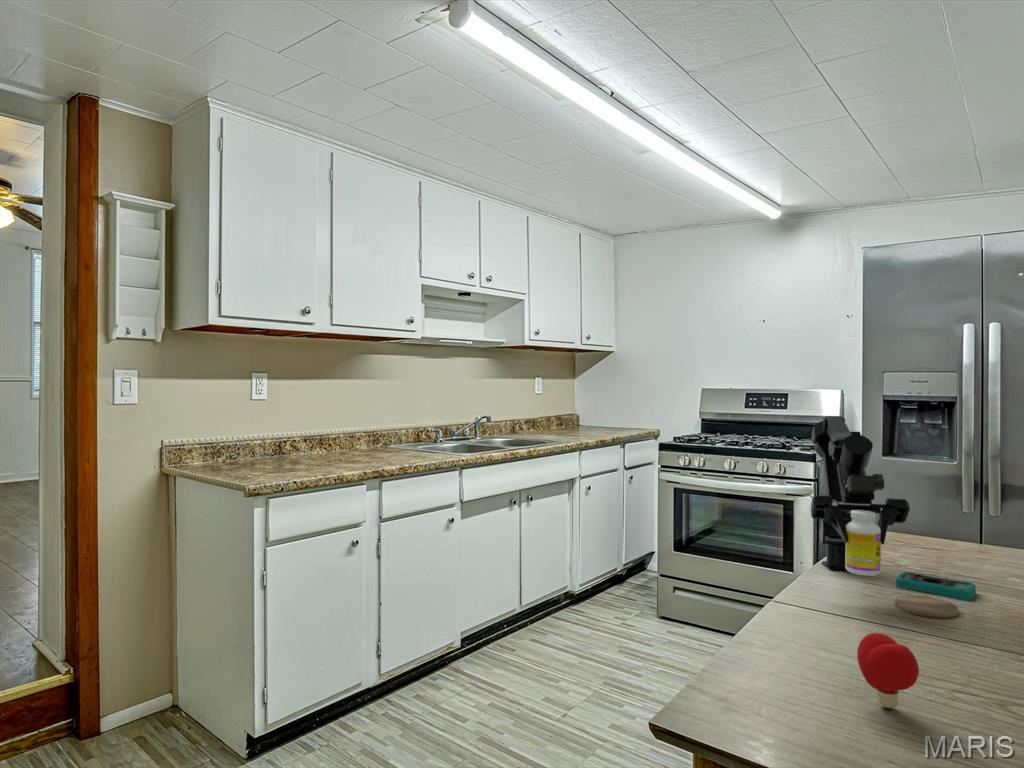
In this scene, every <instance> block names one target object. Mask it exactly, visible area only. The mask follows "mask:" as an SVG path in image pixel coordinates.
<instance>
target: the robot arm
mask: <svg viewBox="0 0 1024 768" xmlns="http://www.w3.org/2000/svg"><path fill="white" fill-rule="evenodd" d="M812 427H813V428H812V431H811V444H814V449H815V453H816V454H817V455H818V456H819V457H820V458H821V459H822V462H823V463H822V464H823V472H824V473H823V474H824V481H825V489H826V494H825V495H822V494H821V495H819V494H815V495H814V496H813V497H812V498H811V505H810V515H811V516H810V517H811V518H812V519H814V520H817V519H818V520H820V527H819V532H818V533H819V537H818V538H819V541H820V543H821V544H822V545H825V546H826V547H825V549H826V551H825V552H826V561H823V560H822V561H823V562H822V561H821V564H822V565H823V566H824V567H826V568H827V569H828V570H830V571H847V570H846V568H845V546H846V542H847V541H848V538H847V532H846V525H847V523H849V522H851V521H852V518H851V511H852V510H866V511H872V512H875V513H876V515H878V516H879V518H878V521H877V525H878V526H879V527H880V530H881V546H883V545H885V542H886V537H887V530H888V526H893V525H894V523H895V524H897V523H898V524H902V523H906V521H907V518H908V515H909V512H910V504H909V501H908V500H906V499H905V498H899V497H898V498H896V497H894V498H893V497H886V499H885V503H883V504H881V503H880V504H879V503H878V504H877V503H873V502H872V501H874V500H875V493H874V492H876V491H882V490H884V488H885V479H884V476H883V474H882V473H873V474H872V475H867V472H866V468H867V467H868V466H869V463H870V458H871V455H872V453H873V446H874V444H873V442H872V441H871V440H870V439H869V438H868V437H867V436H864V435H863V434H862V435H861V431H851V430H850V429H849V427H848V424H846V418H845V417H844V416H841V415H840V416H839V415H826V416H823V417H822V420H821V421H819V422H817V423H816V424H814V425H813V426H812Z"/></svg>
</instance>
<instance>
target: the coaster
mask: <svg viewBox="0 0 1024 768" xmlns="http://www.w3.org/2000/svg"><path fill="white" fill-rule="evenodd" d="M894 604H895V605H896V606H895V605H894V606H895V607H896V608H897V609H898V610H900V609H901V610H900V611H902V610H903V611H902V612H905V611H906V612H905V613H907V612H908V613H907V614H910V613H912V614H911V615H914V614H915V615H914V616H918V615H921V616H920V617H923V616H926V617H925V618H929V617H934V618H933V619H951V618H952V619H953V618H957V616H959V608H958V607H957V605H955V604H953V603H952V602H948V601H946V600H944V599H940V598H936V597H931V596H926V595H925V596H924V595H908V594H907V595H901V596H900V595H899V596H897V597H896V598H895V600H894Z"/></svg>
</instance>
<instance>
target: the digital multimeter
mask: <svg viewBox="0 0 1024 768" xmlns="http://www.w3.org/2000/svg"><path fill="white" fill-rule="evenodd" d="M895 586H896V588H897V587H901V588H900V589H902V588H906V589H905V590H908V589H912V590H911V591H914V590H918V591H917V592H919V591H923V592H922V593H925V592H929V593H928V594H930V593H933V594H932V595H935V594H938V595H937V596H941V595H943V596H942V597H946V596H948V597H947V598H951V597H953V598H952V599H956V598H957V599H956V600H960V601H961V600H963V601H966V600H967V602H970V601H971V600H973V599H974V598H975V597H976V593H977V590H976V584H974V583H973V582H969V581H962V580H961V581H960V580H956V579H949V578H944V577H943V578H942V577H937V576H931V575H925V574H919V573H915V572H909V571H902V572H901V573H899V574H897V575H896V576H895Z"/></svg>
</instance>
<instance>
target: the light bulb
mask: <svg viewBox="0 0 1024 768" xmlns="http://www.w3.org/2000/svg"><path fill="white" fill-rule="evenodd" d="M856 653H857V664H858V666H859V669H860V671H861V674H862V676H863V678H864V679H865V682H867V683H868V684H869V686H870V687H872V689H874V690H876V702H877V703H878V704H880V705H881V706H882V707H883V709H885V710H890V711H891V710H893V708H897V707H898V706H899V691H903V690H907V689H910V688H911V687H913V686H914V685H915V684H916V682H917V680H918V677H919V673H920V672H919V671H920V668H919V663H918V661H917V658H916V656H915V655H914V653H913V652H912V651H911V650H910V648H909V647H908V646H906V645H904V644H901V643H898V642H897V641H896V640H895V639H893V638H892V637H890V636H889V635H886V633H881V632H880V633H879V632H874V633H873V632H871V633H869V634H866V635H865V636H864V637H863V638H862V639H861V640H860V641H859V644H858V646H857V651H856Z"/></svg>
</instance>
